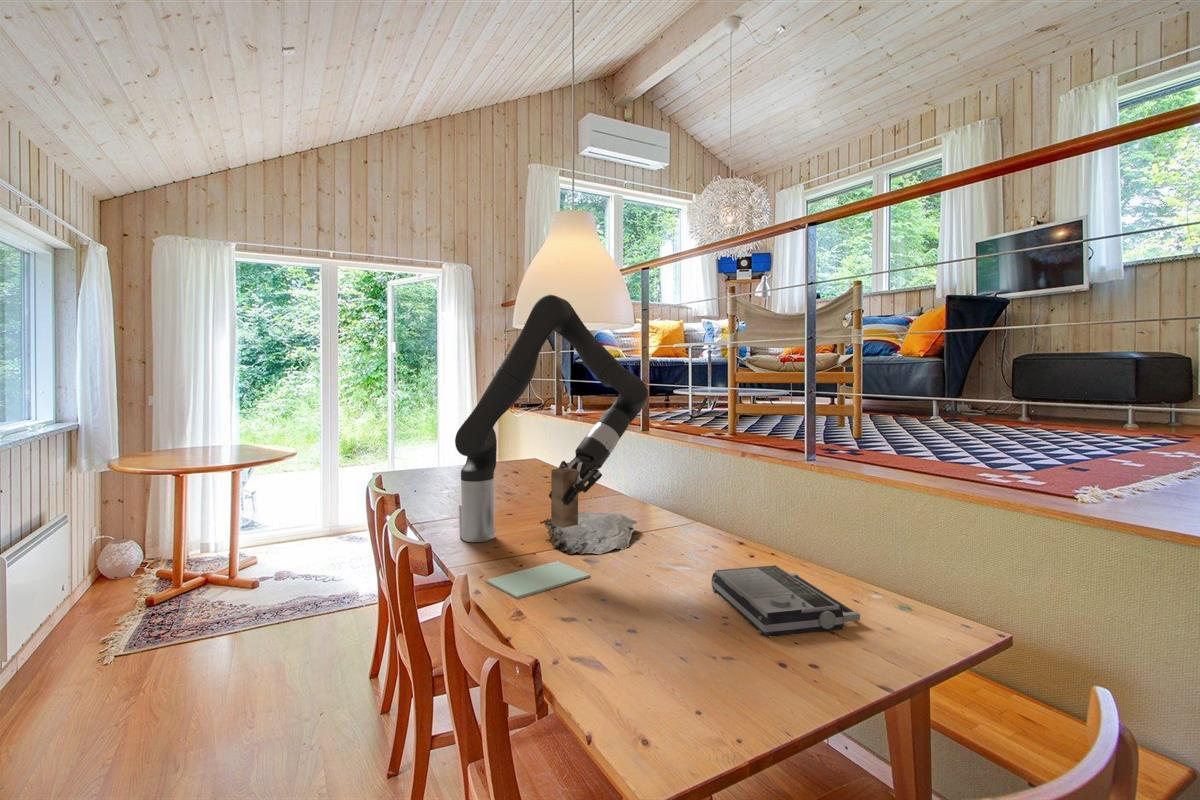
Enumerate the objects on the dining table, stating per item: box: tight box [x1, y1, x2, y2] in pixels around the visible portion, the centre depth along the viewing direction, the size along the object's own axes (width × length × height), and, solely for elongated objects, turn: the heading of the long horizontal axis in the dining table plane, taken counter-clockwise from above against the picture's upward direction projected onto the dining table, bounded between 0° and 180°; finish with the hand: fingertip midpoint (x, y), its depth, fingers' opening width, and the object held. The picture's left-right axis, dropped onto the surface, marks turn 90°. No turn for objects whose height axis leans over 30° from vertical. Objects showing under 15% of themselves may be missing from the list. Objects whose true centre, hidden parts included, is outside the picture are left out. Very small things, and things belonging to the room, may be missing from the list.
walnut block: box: [550, 467, 579, 528], centre depth 138 cm, size 4×4×13 cm
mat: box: [485, 560, 591, 600], centre depth 135 cm, size 20×13×1 cm, turn 130°
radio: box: [711, 564, 861, 638], centre depth 118 cm, size 24×5×20 cm
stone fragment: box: [539, 511, 638, 555], centre depth 167 cm, size 25×29×6 cm
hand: (558, 500), depth 137 cm, fingers closed on walnut block, 4 cm apart
